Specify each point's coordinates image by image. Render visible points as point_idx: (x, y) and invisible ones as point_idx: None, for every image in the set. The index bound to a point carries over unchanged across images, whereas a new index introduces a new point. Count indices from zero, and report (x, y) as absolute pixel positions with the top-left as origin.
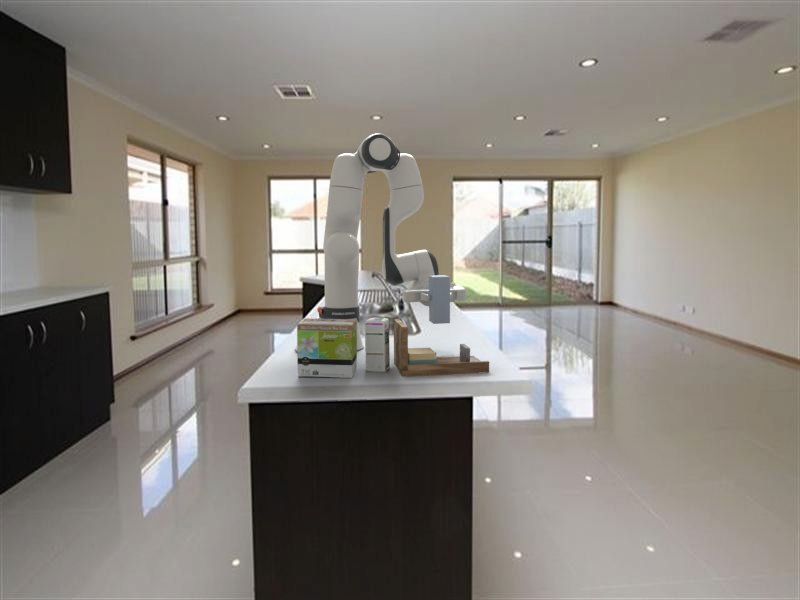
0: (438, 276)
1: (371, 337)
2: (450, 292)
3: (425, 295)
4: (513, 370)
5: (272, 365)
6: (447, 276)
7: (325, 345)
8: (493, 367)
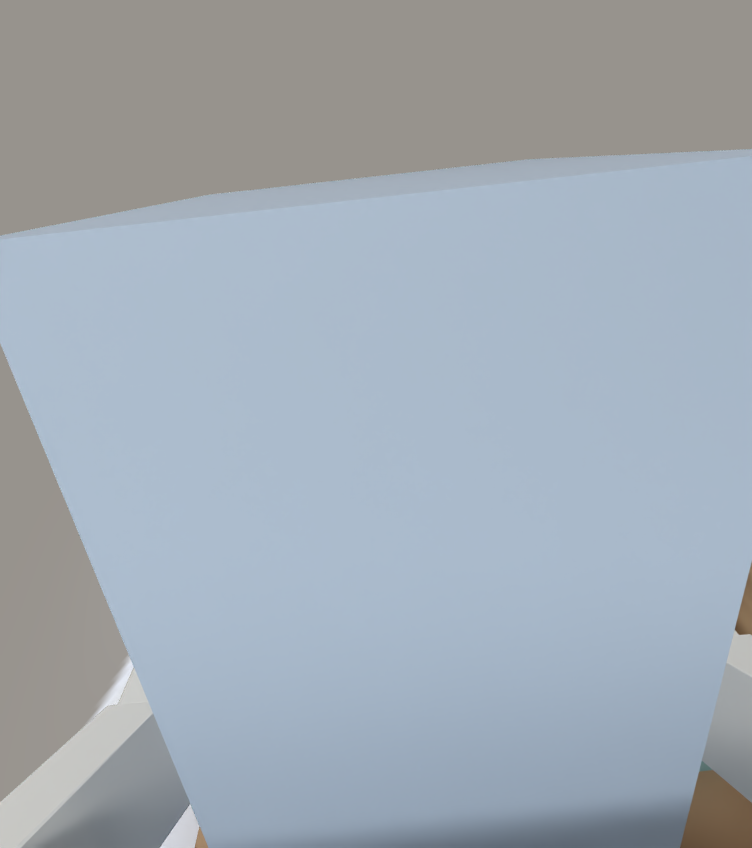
0: (412, 175)
1: None
2: (13, 837)
3: (734, 649)
4: (121, 678)
5: None
6: (225, 194)
7: None
8: None
